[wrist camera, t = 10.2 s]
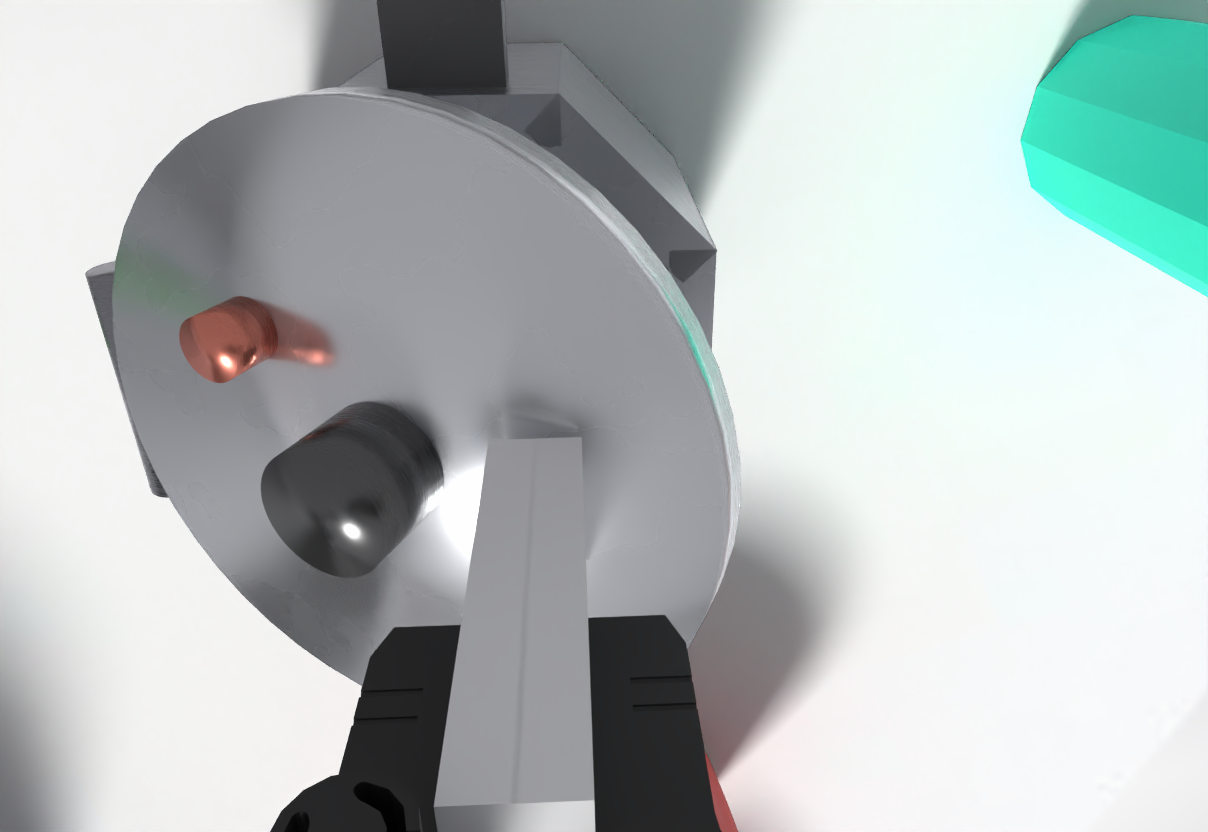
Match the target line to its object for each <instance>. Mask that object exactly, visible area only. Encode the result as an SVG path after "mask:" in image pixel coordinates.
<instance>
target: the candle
mask: <svg viewBox="0 0 1208 832" xmlns="http://www.w3.org/2000/svg"><path fill="white" fill-rule="evenodd" d="M1021 144H1022V149H1023V153H1024V158H1025V162H1026V167H1027V171H1028V175H1029V180H1030V184H1031V187H1032V188H1033V189H1034V190H1035V191H1036V192H1038V193H1039V194H1040V195H1041V196H1042V197H1044V198H1045V199H1046V200H1047V201H1048V202H1049V203H1051V204H1052V205H1053V206H1054V207H1055V208H1057V209H1058V210H1059V211H1060V212H1061V213H1062V214H1064V215H1065V216H1067V217H1069V218H1070V219H1072V220H1074V221H1076V222H1077V223H1079V224H1081V225H1083V226H1084V227H1086V228H1088V229H1090V230H1091V231H1093V232H1095V233H1096V234H1098V235H1100V236H1102V237H1103V238H1105V239H1107V240H1109V241H1110V242H1112V243H1114V244H1116V245H1117V246H1119V247H1121V248H1123V249H1124V250H1126V251H1128V252H1130V253H1131V254H1133V255H1135V256H1137V257H1138V258H1140V259H1142V260H1144V261H1145V262H1147V263H1149V264H1151V265H1152V266H1154V267H1156V268H1158V269H1159V270H1161V271H1163V272H1165V273H1166V274H1168V275H1170V276H1172V277H1173V278H1175V279H1177V280H1179V281H1180V282H1182V283H1184V284H1186V285H1187V286H1189V287H1191V288H1193V289H1194V290H1196V291H1198V292H1200V293H1201V294H1203V295H1205V296H1207V297H1208V24H1207V23H1201V22H1194V21H1187V20H1178V19H1168V18H1158V17H1148V16H1138V15H1131V16H1129V17H1127V18H1125V19H1122V20H1120V21H1118V22H1116V23H1114V24H1111V25H1109V26H1107V27H1105V28H1103V29H1100V30H1098V31H1096V32H1094V33H1092V34H1090V35H1087V36H1085V37H1083V38H1081V39H1079V40H1077V41H1076V43H1075V44H1074V45H1073V46H1072V47H1071V48H1070V49H1069V51H1068V52H1067V53H1066V54H1065V55H1064V56H1063V57H1062V59H1061V60H1060V61H1059V62H1058V63H1057V64H1056V65H1055V67H1054V68H1053V69H1052V70H1051V71H1050V72H1049V73H1048V75H1047V76H1046V77H1045V78H1044V79H1043V80H1042V81H1041V83H1040V84H1039V85H1038V86H1037V88H1036V92H1035V95H1034V98H1033V102H1032V105H1031V108H1030V111H1029V115H1028V118H1027V121H1026V125H1025V128H1024V131H1023V134H1022V138H1021Z"/></svg>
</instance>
